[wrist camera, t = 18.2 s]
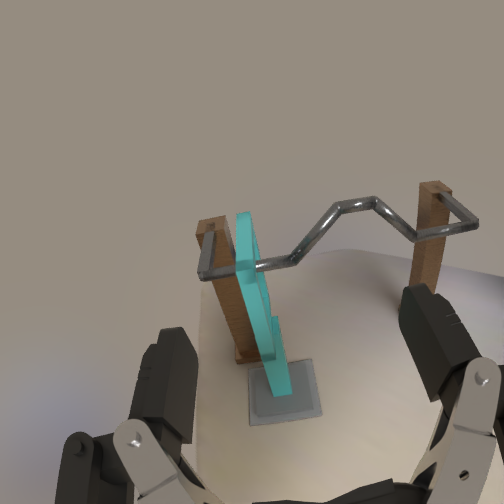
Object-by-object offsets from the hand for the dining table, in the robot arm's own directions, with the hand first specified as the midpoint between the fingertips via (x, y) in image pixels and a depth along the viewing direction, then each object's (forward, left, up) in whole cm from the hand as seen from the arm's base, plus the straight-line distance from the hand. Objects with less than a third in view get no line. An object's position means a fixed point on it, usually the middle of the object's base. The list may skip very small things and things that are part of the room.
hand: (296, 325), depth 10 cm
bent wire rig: (-17, -8, -28) cm, 34 cm away
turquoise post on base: (-7, -11, -28) cm, 31 cm away
